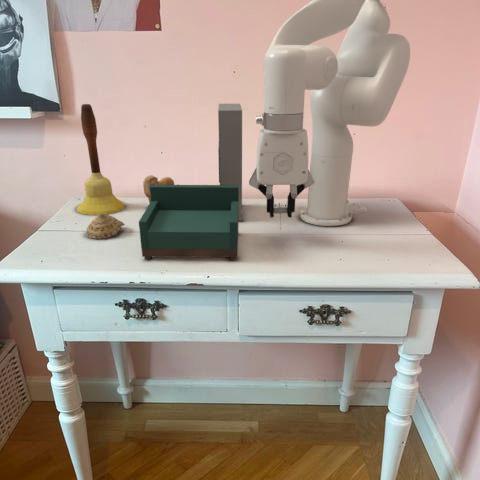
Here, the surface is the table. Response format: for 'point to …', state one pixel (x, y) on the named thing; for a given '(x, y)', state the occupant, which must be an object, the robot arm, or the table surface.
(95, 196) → the handbell
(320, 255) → the table surface
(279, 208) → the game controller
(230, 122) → the tall grey pillar
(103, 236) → the seashell
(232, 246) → the sofa
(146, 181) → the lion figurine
